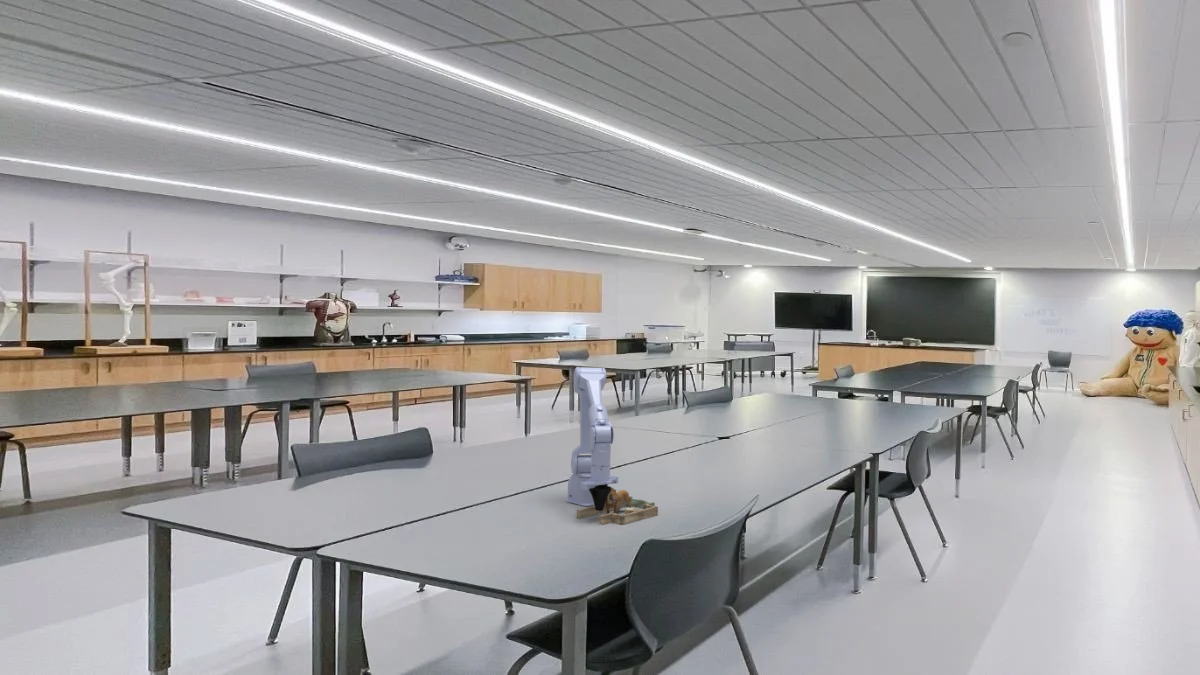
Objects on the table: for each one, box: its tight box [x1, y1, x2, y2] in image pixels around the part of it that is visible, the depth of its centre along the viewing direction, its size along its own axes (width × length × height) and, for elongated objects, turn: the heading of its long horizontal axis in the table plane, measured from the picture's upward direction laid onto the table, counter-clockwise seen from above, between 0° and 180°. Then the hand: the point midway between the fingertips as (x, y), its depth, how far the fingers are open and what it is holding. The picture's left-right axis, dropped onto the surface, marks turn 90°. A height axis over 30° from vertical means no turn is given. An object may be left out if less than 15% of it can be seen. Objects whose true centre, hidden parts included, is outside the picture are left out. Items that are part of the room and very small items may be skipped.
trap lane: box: [576, 495, 659, 526], centre depth 239 cm, size 14×25×3 cm, turn 138°
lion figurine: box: [604, 486, 632, 514], centre depth 242 cm, size 15×5×9 cm, turn 153°
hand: (599, 510), depth 235 cm, fingers closed
